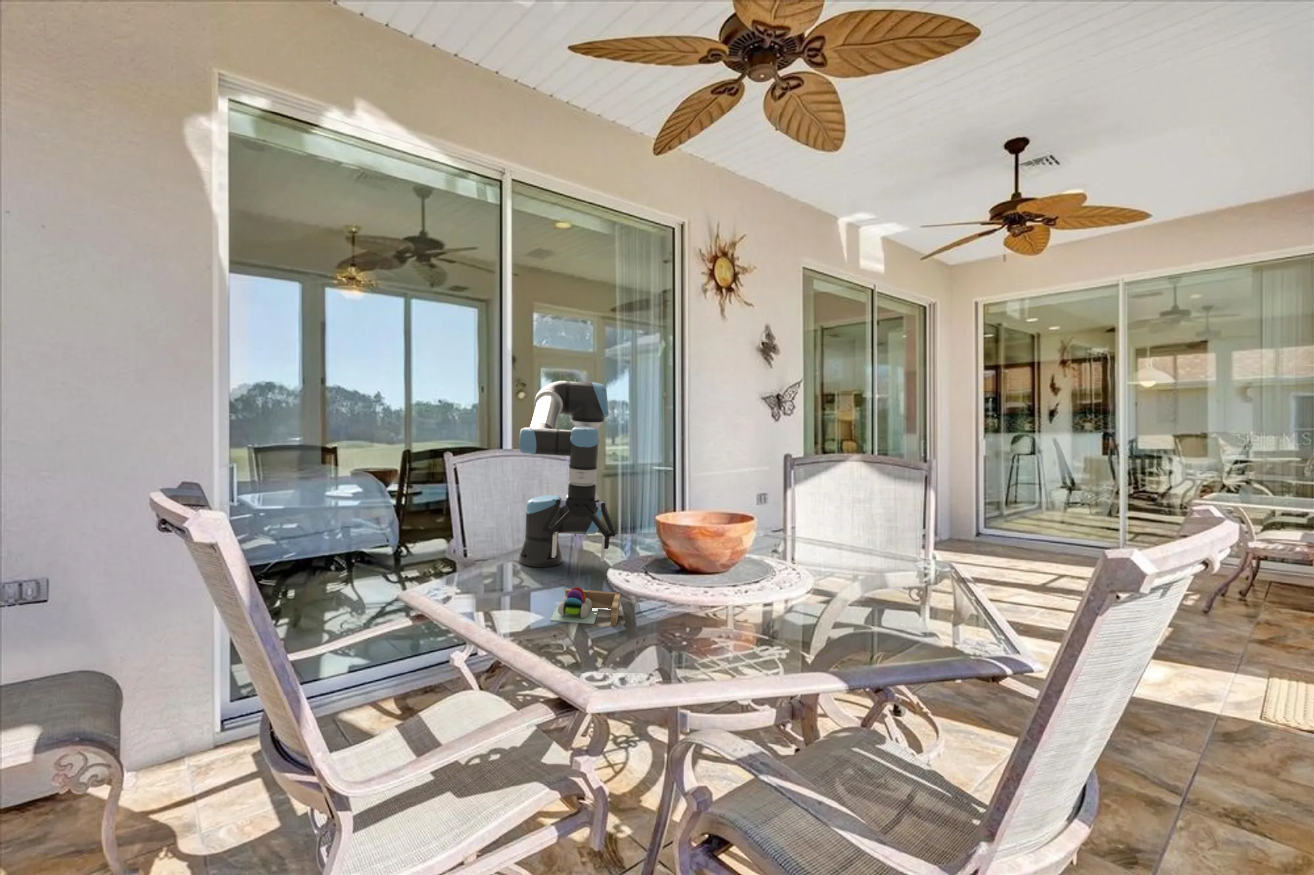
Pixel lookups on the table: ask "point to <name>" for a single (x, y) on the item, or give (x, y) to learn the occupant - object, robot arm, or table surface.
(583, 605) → the rainbow petal toy
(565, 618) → the pad
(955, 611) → the table surface
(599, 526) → the robot arm
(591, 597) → the wooden bracket
